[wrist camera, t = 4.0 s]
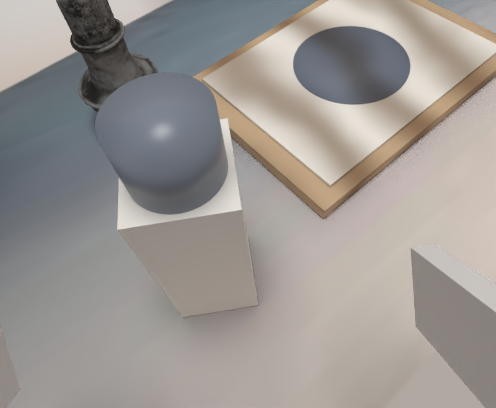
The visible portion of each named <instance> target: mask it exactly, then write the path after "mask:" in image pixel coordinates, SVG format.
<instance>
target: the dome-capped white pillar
mask: <svg viewBox="0 0 496 408" xmlns="http://www.w3.org/2000/svg"><path fill="white" fill-rule="evenodd" d="M95 135H96V138H97V140H98V143H99V144H100V146H101V148H102V149H103V151H104V153H105V154H106V156H107V158H108V159H109V161H110V163H111V164H112V166H113V168H114V169H115V171H116V173H117V174H118V176H119V195H118V225H117V230H118V231H119V233H120V234H121V235H122V237H123V238H124V239H125V241H126V242H127V243H128V245H129V246H130V247H131V249H132V250H133V251H134V253H135V254H136V255H137V257H138V258H139V259H140V261H141V262H142V263H143V265H144V266H145V268H146V269H147V270H148V272H149V273H150V274H151V276H152V277H153V278H154V280H155V281H156V282H157V284H158V285H159V286H160V288H161V289H162V290H163V292H164V293H165V294H166V296H167V297H168V298H169V300H170V301H171V302H172V304H173V305H174V306H175V308H176V309H177V310H178V312H179V313H180V314H181V316H182V317H189V316H195V315H201V314H207V313H213V312H219V311H226V310H232V309H238V308H244V307H250V306H256V305H259V304H258V298H257V292H256V285H255V279H254V273H253V266H252V260H251V254H250V248H249V241H248V235H247V229H246V223H245V217H244V212H243V206H242V200H241V194H240V188H239V182H238V176H237V170H236V165H235V159H234V153H233V147H232V141H231V135H230V129H229V123H228V118H226V119H219V114H218V109H217V104H216V100H215V97H214V95H213V93H212V92H211V90H210V89H209V88H208V87H207V86H206V85H205V84H204V83H202V82H201V81H199V80H198V79H196V78H193V77H191V76H188V75H185V74H179V73H170V72H169V73H155V74H150V75H146V76H142V77H139V78H136V79H134V80H132V81H130V82H128V83H126V84H124V85H122V86H121V87H119V88H118V89H117V90H115V91H114V92H113V93H112V94H111V95H110V96H109V97H108V98H107V99H106V100H105V101H104V103H103V104H102V106H101V107H100V109H99V111H98V113H97V116H96V120H95Z"/></svg>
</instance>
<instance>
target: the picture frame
mask: <svg viewBox="0 0 496 408" xmlns="http://www.w3.org/2000/svg"><path fill="white" fill-rule="evenodd" d="M495 76H496V33H493V32H491V31H489V30H487V29H485V28H483V27H481V26H479V25H477V24H475V23H473V22H471V21H469V20H467V19H465V18H463V17H461V16H459V15H456V14H454V13H452V12H450V11H448V10H446V9H444V8H442V7H440V6H438V5H436V4H434V3H432V2H430V1H428V0H318V1H316V2H315V3H313V4H312V5H310V6H308V7H307V8H305V9H303V10H302V11H300V12H298V13H297V14H295V15H294V16H292V17H290V18H289V19H287V20H285V21H284V22H282V23H280V24H279V25H277V26H276V27H274V28H272V29H271V30H269V31H267V32H266V33H264V34H262V35H261V36H259V37H258V38H256V39H254V40H253V41H251V42H249V43H248V44H246V45H244V46H243V47H241V48H240V49H238V50H236V51H235V52H233V53H231V54H230V55H228V56H227V57H225V58H223V59H222V60H220V61H218V62H217V63H215V64H213V65H212V66H210V67H209V68H207V69H205V70H204V71H202V72H200V73H199V74H197V75H195V76H194V77H193V78H196V79H198V80H199V81H201V82H202V83H204V84H205V85H206V86H207V87H208V88H209V89H210V90H211V92H212V93H213V95H214V97H215V100H216V104H217V109H218V114H219V119H226V118H228V123H229V129H230V135H231V137H232V138H233V139H234V140H235V141H236V142H238V143H239V144H240V145H241V146H242V147H243V148H244V149H245V150H247V151H248V152H249V153H250V154H251V155H252V156H253V157H254V158H256V159H257V160H258V161H259V162H260V163H261V164H262V165H263V166H265V167H266V168H267V169H268V170H269V171H270V172H271V173H272V174H274V175H275V176H276V177H277V178H278V179H279V180H280V181H281V182H283V183H284V184H285V185H286V186H287V187H288V188H289V189H290V190H292V191H293V192H294V193H295V194H296V195H297V196H298V197H299V198H301V199H302V200H303V201H304V202H305V203H306V204H307V205H308V206H310V207H311V208H312V209H313V210H314V211H315V212H316V213H317V214H319V215H320V216H321V217H322V218H323V219H324V218H325V217H326V216H327V215H329V214H330V213H331V212H332V211H333V210H335V209H336V208H337V207H338V206H339V205H341V204H342V203H343V202H344V201H345V200H347V199H348V198H349V197H350V196H351V195H353V194H354V193H355V192H356V191H358V190H359V189H360V188H361V187H362V186H364V185H365V184H366V183H367V182H368V181H370V180H371V179H372V178H373V177H374V176H376V175H377V174H378V173H379V172H380V171H382V170H383V169H384V168H385V167H386V166H388V165H389V164H390V163H391V162H392V161H394V160H395V159H396V158H397V157H398V156H400V155H401V154H402V153H403V152H404V151H406V150H407V149H408V148H409V147H411V146H412V145H413V144H414V143H415V142H417V141H418V140H419V139H420V138H421V137H423V136H424V135H425V134H426V133H427V132H429V131H430V130H431V129H432V128H433V127H435V126H436V125H437V124H438V123H439V122H441V121H442V120H443V119H444V118H445V117H447V116H448V115H449V114H450V113H451V112H453V111H454V110H455V109H456V108H457V107H459V106H460V105H461V104H462V103H464V102H465V101H466V100H467V99H468V98H470V97H471V96H472V95H473V94H474V93H476V92H477V91H478V90H479V89H480V88H482V87H483V86H484V85H485V84H486V83H488V82H489V81H490V80H491V79H492V78H494V77H495Z"/></svg>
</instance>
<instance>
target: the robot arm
mask: <svg viewBox="0 0 496 408" xmlns="http://www.w3.org/2000/svg"><path fill="white" fill-rule="evenodd" d="M411 259H412V275H413V291H414V306H415V322H416V327H417V328H418V330H419V331H420V332H421V333H422V334H423V335H424V337H425V338H426V339H427V340H428V341H429V342H430V344H431V345H432V346H433V347H434V348H435V349H436V351H437V352H438V353H439V354H440V355H441V356H442V358H443V359H444V360H445V361H446V362H447V363H448V365H449V366H450V367H451V368H452V369H453V370H454V372H455V373H456V374H457V375H458V376H459V377H460V379H461V380H462V381H463V382H464V383H465V384H466V386H467V387H468V388H469V389H470V390H471V391H472V393H473V394H474V395H475V396H476V397H477V398H478V400H479V401H480V402H481V403H482V404H483V405H484V407H485V408H496V283H494V282H493V281H491V280H489V279H488V278H486V277H485V276H483V275H482V274H480V273H479V272H477V271H476V270H474V269H473V268H471V267H470V266H468V265H466V264H465V263H463V262H462V261H460V260H459V259H457V258H456V257H454V256H453V255H451V254H450V253H448V252H447V251H445V250H443V249H442V248H440V247H439V246H437V245H436V244H431V245H424V246H418V247H412V248H411ZM19 390H20V386H19V383H18V380H17V376H16V373H15V370H14V367H13V364H12V361H11V358H10V354H9V351H8V348H7V345H6V342H5V339H4V336H3V333H2V329H1V326H0V408H6V407H7V406H8V404H9V403H10V402H11V400H12V399H13V398H14V397H15V395H16V394H17V393H18V391H19Z"/></svg>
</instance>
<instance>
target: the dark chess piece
mask: <svg viewBox="0 0 496 408" xmlns="http://www.w3.org/2000/svg"><path fill="white" fill-rule="evenodd" d="M56 1H57V4H58V6H59V8H60V10H61V12H62V14H63V16H64V18H65V20H66V22H67V24H68V26H69V28H70V30H71V32H72V35H71V39H70V42H71V45H72V47H73V48H74V49H75V50H77V51H79V52H81V54H82V56H83V58H84V60H85V62H86V64H87V66H88V69H87V70H86V72H85V73H84V74H83V75H82V77H81V79H80V82H79V86H78V92H79V95H80V97H81V99H82V100H83V101H84V102H85V103H86V104H87V105H89V106H91V107H92V108H93V109H94V110H95V111H97V112H98V111H99V109H100V107H101V106H102V104H103V103H104V101H105V100H106V99H107V98H108V97H109V96H110V95H111V94H112V93H113V92H114V91H115V90H117V89H118V88H119V87H121V86H122V85H124V84H126V83H128V82H130V81H132V80H134V79H136V78H139V77H142V76H146V75H150V74H155V73H157V69H156V67H155V65H154V63H153V62H152V61H150V60H149V59H148V58H146V57H144V56H141V55H138V54H132V53H130V52H129V51H128V48H127V46H126V43H125V41H124V38H123V36H124V33H125V28H124V26H123V24H122V22H120V21H119V20H117V19H115V18H114V16H113V13H112V11H111V8H110V6H109V3H108V1H107V0H56Z"/></svg>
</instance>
